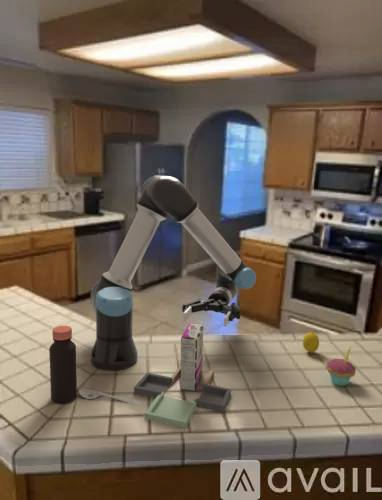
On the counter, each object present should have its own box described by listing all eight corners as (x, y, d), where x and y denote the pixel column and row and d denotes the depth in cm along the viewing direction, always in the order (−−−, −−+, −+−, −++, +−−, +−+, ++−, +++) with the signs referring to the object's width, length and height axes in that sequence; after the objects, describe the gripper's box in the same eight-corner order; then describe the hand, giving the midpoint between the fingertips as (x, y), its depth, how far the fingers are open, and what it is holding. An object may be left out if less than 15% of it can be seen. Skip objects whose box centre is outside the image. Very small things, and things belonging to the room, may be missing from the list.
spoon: (82, 391, 113) (82, 386, 113) (151, 401, 109) (152, 396, 109) (75, 399, 109) (75, 393, 109) (147, 410, 105) (147, 404, 105)
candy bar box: (186, 371, 126) (188, 322, 123) (202, 373, 125) (204, 324, 122) (178, 389, 115) (180, 336, 112) (195, 391, 114) (197, 338, 111)
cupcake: (353, 378, 125) (357, 342, 123) (354, 391, 117) (359, 353, 115) (324, 373, 128) (328, 338, 126) (324, 385, 120) (328, 348, 118)
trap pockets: (133, 393, 112) (134, 387, 112) (146, 378, 120) (146, 372, 120) (223, 412, 105) (224, 406, 104) (230, 395, 113) (231, 388, 113)
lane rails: (170, 383, 118) (170, 378, 118) (180, 368, 127) (180, 364, 127) (205, 390, 115) (205, 385, 115) (213, 375, 124) (213, 370, 124)
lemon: (299, 349, 145) (301, 328, 143) (314, 349, 145) (316, 328, 144) (305, 356, 139) (307, 335, 138) (320, 356, 140) (322, 335, 138)
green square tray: (144, 418, 101) (144, 413, 101) (160, 396, 111) (160, 391, 111) (185, 428, 98) (185, 422, 97) (198, 404, 108) (198, 399, 108)
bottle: (62, 407, 104) (60, 336, 101) (45, 399, 108) (43, 330, 104) (82, 395, 110) (80, 327, 106) (65, 388, 114) (63, 322, 110)
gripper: (252, 313, 144) (242, 335, 124) (187, 305, 152) (168, 325, 132) (253, 293, 143) (243, 313, 123) (188, 286, 150) (168, 304, 130)
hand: (204, 319), depth 127 cm, fingers open, 13 cm apart
